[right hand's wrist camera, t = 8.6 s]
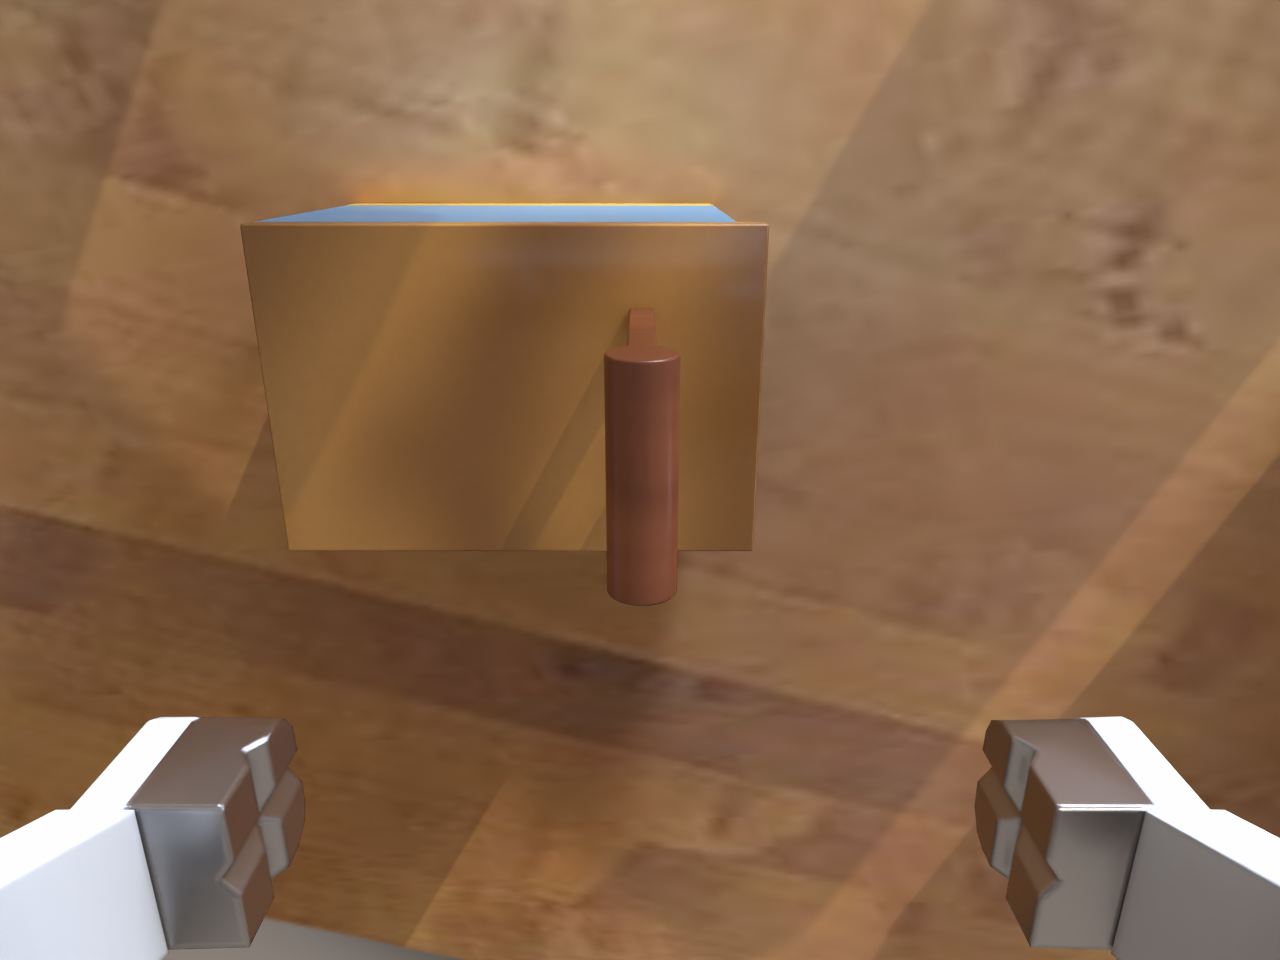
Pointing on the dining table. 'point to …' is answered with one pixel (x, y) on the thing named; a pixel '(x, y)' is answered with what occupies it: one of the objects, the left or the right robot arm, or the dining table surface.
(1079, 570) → the dining table surface
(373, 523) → the lid
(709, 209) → the chest
